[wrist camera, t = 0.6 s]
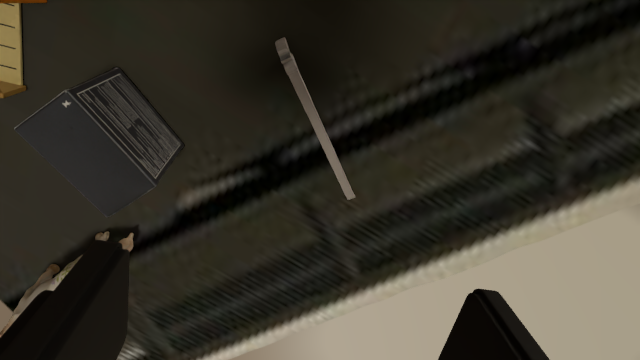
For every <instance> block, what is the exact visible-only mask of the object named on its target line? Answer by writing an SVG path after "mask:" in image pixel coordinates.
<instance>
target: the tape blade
mask: <svg viewBox="0 0 640 360" xmlns="http://www.w3.org/2000/svg"><path fill="white" fill-rule="evenodd" d="M23 91H26V86H25V85H23V62H22V23H21V3H0V98H5V97H8V96H11V95H14V94H17V93H20V92H23Z"/></svg>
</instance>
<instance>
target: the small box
mask: <svg viewBox="0 0 640 360" xmlns="http://www.w3.org/2000/svg"><path fill="white" fill-rule="evenodd" d="M14 130H15V131H16V132H17V133H18V134H19V135H20V136H21V137H22V138H23V139H24V140H26V141H27V142H28V143H29V144H30V145H31V146H32V147H33V148H34V149H35V150H36V151H37V152H38V153H39V154H40V155H42V156H43V157H44V158H45V159H46V160H47V161H48V162H49V163H50V164H51V165H52V166H53V167H54V168H55V169H56V170H57V171H58V172H60V173H61V174H62V175H63V176H64V177H65V178H66V179H67V180H68V181H69V182H70V183H71V184H72V185H73V186H74V187H75V188H76V189H78V190H79V191H80V192H81V193H82V194H83V195H84V196H85V197H86V198H87V199H88V200H89V201H90V202H91V203H92V204H93V205H94V206H95V207H96V208H97V209H99V210H100V211H101V212H102V213H103V214H104V215H105V216H106V217H110V216H111V215H113V214H115V213H116V212H118V211H119V210H121V209H123V208H124V207H126V206H127V205H129V204H130V203H132V202H134V201H135V200H137V199H138V198H140V197H141V196H143V195H144V194H146V193H147V192H149V191H150V190H152V189H154V188H155V187H156V186H157V184H158V182H159V180H160V179H161V177H162V176H163V174H164V173H165V171H166V170H167V169H168V167H169V166H170V165H171V163H172V162H173V160H174V159H175V157H176V156H177V155H178V153H179V152H180V150H181V149H183V147H184V144H183V143H182V141H181V140H180V139H179V138H178V137H177V135H176V134H175V133H174V132H173V131H172V129H171V128H170V127H169V126H168V125H167V123H166V122H165V121H164V120H163V119H162V118H161V116H160V115H159V114H158V113H157V112H156V110H155V109H154V108H153V107H152V106H151V104H150V103H149V102H148V101H147V100H146V99H145V97H144V96H143V95H142V94H141V93H140V92H139V90H138V89H137V88H136V87H135V86H134V84H133V83H132V82H131V81H130V80H129V79H128V77H127V76H126V75H125V74H124V73H123V72H122V70H121V69H120V68H117V67H114V68H113V69H112V70H110V71H108V72H106V73H104V74H101V75H99V76H96V77H94V78H92V79H90V80H88V81H85V82H83V83H81V84H79V85H76V86H74V87H72V88H69V89H66V90H63V91H62V92H61V93H60V94H59V95H57V96H56V97H55V98H53V99H52V100H51V101H49V102H48V103H46V104H45V105H44V106H43V107H41V108H40V109H39V110H37V111H36V112H35V113H33V114H32V115H30V116H29V117H28V118H27V119H25V120H24V121H22V122H21V123H20V124H18V125H17V126H16V127H15V128H14Z"/></svg>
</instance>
